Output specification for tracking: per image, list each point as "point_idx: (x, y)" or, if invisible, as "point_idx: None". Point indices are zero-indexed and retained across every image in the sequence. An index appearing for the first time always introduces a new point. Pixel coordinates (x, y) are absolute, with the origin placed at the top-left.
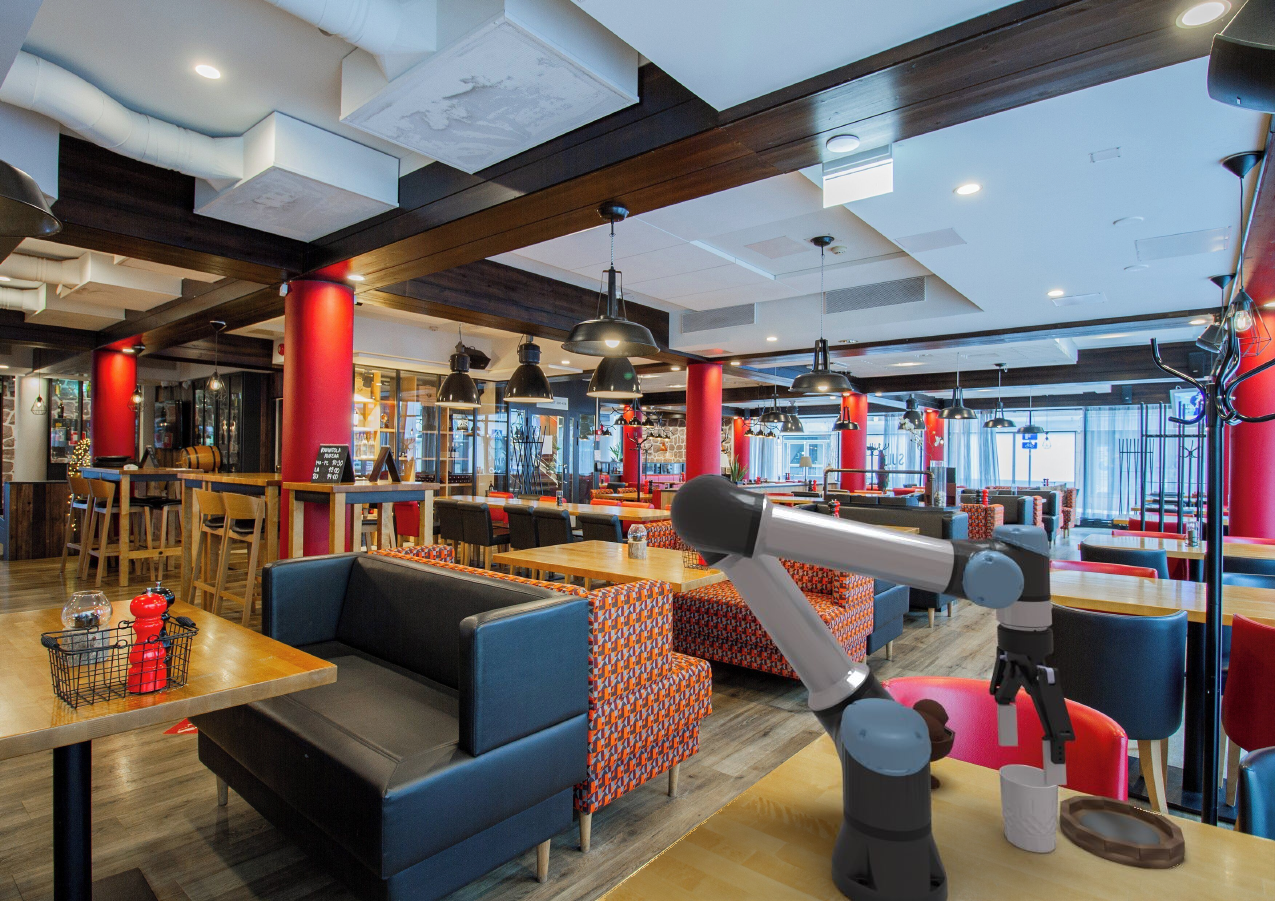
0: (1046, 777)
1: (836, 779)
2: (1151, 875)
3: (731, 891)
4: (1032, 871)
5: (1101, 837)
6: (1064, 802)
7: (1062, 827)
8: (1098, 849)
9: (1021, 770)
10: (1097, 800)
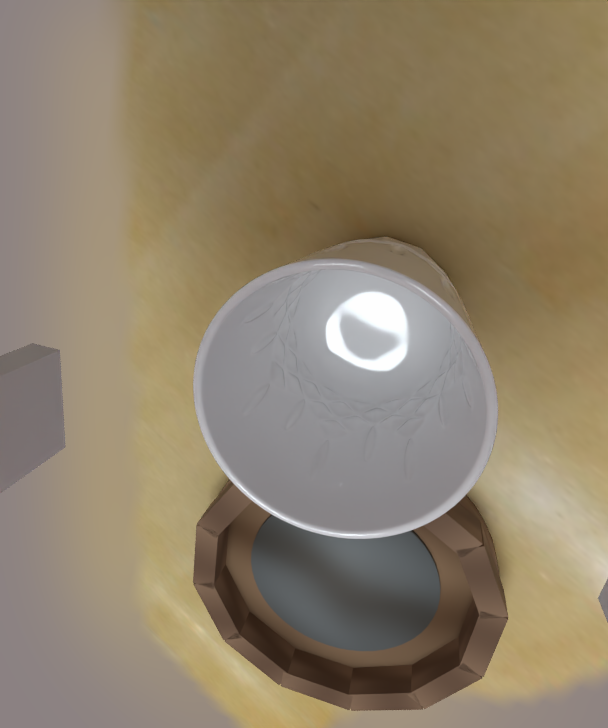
0: (3, 357)
1: None
2: (191, 488)
3: None
4: (216, 197)
5: None
6: (475, 552)
7: None
8: None
9: (464, 457)
10: (465, 648)
